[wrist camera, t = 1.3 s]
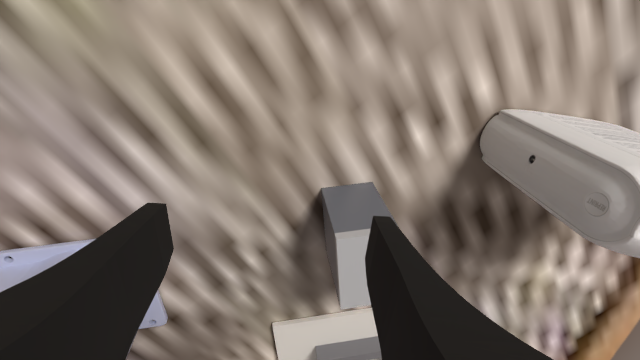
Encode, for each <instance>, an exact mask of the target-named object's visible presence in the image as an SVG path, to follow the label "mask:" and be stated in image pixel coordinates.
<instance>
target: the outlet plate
mask: <svg viewBox="0 0 640 360" xmlns="http://www.w3.org/2000/svg"><path fill="white" fill-rule="evenodd" d="M272 326H273V332H274V338H275V344H276V349H277V355H278V360H382V356H381V349H380V344H379V339H378V334H377V329H376V325H375V320H374V315H373V311H372V308H365V309H359V310H352V311H346V312H339V313H333V314H326V315H320V316H313V317H307V318H300V319H293V320H287V321H280V322H274V323H272Z"/></svg>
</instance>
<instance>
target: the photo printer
mask: <svg viewBox="0 0 640 360" xmlns="http://www.w3.org/2000/svg"><path fill="white" fill-rule="evenodd" d="M480 149H481V152H482V153H483V157H482V160H483V161H484V162H485V163H486V164H487V165H488V166H489V167H491V168H492V169H493V170H495V171H496V172H497V173H498V174H500V175H501V176H502V177H504V178H505V179H506V180H508V181H509V182H510V183H512V184H513V185H514V186H515V187H517V188H518V189H519V190H521V191H522V192H523V193H525V194H526V195H527V196H529V197H530V198H531V199H533V200H534V201H535V202H537V203H538V204H539V205H541V206H542V207H543V208H544V209H546V210H547V211H548V212H550V213H551V214H552V215H554V216H555V217H556V218H558V219H559V220H560V221H562V222H563V223H564V224H566V225H567V226H569V227H570V228H571V229H573V230H574V231H575V232H577V233H578V234H579V235H581V236H582V237H583V238H585V239H587V240H588V241H590V242H592V243H594V244H597V245H599V246H601V247H604V248H606V249H609V250H612V251H615V252H618V253H621V254H625V255H628V256H633V257H637V258H640V133H638V132H635V131H632V130H630V129H627V128H624V127H621V126H619V125H615V124H611V123H607V122H602V121H596V120H592V119H585V118H579V117H573V116H567V115H560V114H553V113H546V112H538V111H530V110H519V109H507V110H501V111H500V112H499V115H496V116H494V117H493V118H492V119H491V120H490V121H489V122H488V123H487V125H486V126H485V128H484V130H483V132H482V135H481V139H480Z"/></svg>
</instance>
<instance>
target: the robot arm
mask: <svg viewBox="0 0 640 360" xmlns="http://www.w3.org/2000/svg"><path fill="white" fill-rule="evenodd" d="M173 249H174V248H173V242H172V236H171V231H170V225H169V219H168V213H167V207H166V204H161V203H147V204H145V205H144V206H142V207H141V208H139V209H138V210H137V211H135V212H134V213H132V214H131V215H130V216H128V217H127V218H125V219H124V220H123V221H121V222H120V223H118V224H117V225H116V226H114V227H113V228H111V229H110V230H108V231H107V232H106V233H104V234H103V235H101V236H100V237H98V238H97V239H90V240H82V241H74V242H67V243H59V244H51V245H43V246H35V247H28V248H20V249H12V250H4V251H0V360H126V359H127V356H128V354H129V351H130V349H131V346H132V344H133V341H134V338H135V336H136V333H137V331H138V329H142V328H149V327H155V326H162V325H164V324H166V322H167V319H168V316H167V313H166V311H165V308H164V305H163V302H162V299H161V296H160V293H159V291H158V288H159V286H160V284H161V282H162V280H163V278H164V276H165V273H166V271H167V268H168V265H169V262H170V259H171V256H172V252H173ZM8 256H10V257H12V258H13V259H11V258H9V257H8ZM365 268H366V279H367V287H368V292H369V297H370V301H371V306H372V311H373V315H374V320H375V325H376V329H377V334H378V339H379V344H380V349H381V356H382V360H553V359H551V358H550V357H548V356H546V355H545V354H543V353H541V352H539V351H538V350H536V349H534V348H533V347H531V346H529V345H528V344H526V343H524V342H523V341H521V340H520V339H518V338H517V337H515V336H514V335H512V334H511V333H509V332H508V331H506V330H505V329H503V328H502V327H500V326H499V325H497V324H496V323H495V322H493V321H492V320H490V319H489V318H488V317H486V316H485V315H484V314H483V313H481V312H480V311H479V310H477V309H476V308H475V307H474V306H472V305H471V304H470V303H469V302H467V301H466V300H465V299H464V298H463V297H462V296H460V295H459V294H458V293H457V292H456V291H455V290H454V289H453V288H452V287H450V286H449V285H448V284H447V283H446V282H445V281H444V280H443V279H442V278H441V277H440V276H439V275H438V274H437V273H436V272H435V271H434V270H433V269H432V267H431V266H430V265H429V264H428V263H427V262H426V261H425V260H424V259H423V257H422V256H421V255H420V254H419V253H418V251H417V250H416V249H415V248H414V247H413V245H412V244H411V243H410V242H409V240H408V239H407V238H406V236H405V235H404V234H403V233H402V231H401V230H400V229H399V227H398V226H397V225H396V223H395V222H394V221H393V219H392V218H391V217H388V216H373V219H372V224H371V229H370V234H369V239H368V245H367V250H366V255H365ZM153 320H155V321H153Z"/></svg>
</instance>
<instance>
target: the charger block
mask: <svg viewBox="0 0 640 360" xmlns="http://www.w3.org/2000/svg"><path fill="white" fill-rule="evenodd" d="M321 190H322V203H323V216H324V229H325V242H326V251H327V255H328V259H329V263H330V267H331V272H332V276H333V280H334V284H335V288H336V292H337V297H338V301H339V305H340V309H347V308H354V307H361V306H367V305H371V301H370V297H369V292H368V287H367V279H366V268H365V255H366V250H367V245H368V239H369V234H370V229H371V224H372V219H373V216H388V217H391V218H392V219H393V221H394V222H395V220H394V218H393V217H392V215H391V213H390V212H389V210H388V208H387V206H386V205H385V203H384V201H383V200H382V198H381V196H380V194H379V193H378V191H377V189H376V188H375V186H374V184H373V183H372V182H368V183H360V184H352V185H344V186H336V187H328V188H321ZM395 223H396V222H395ZM396 225H397V224H396ZM397 226H398V225H397Z"/></svg>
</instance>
